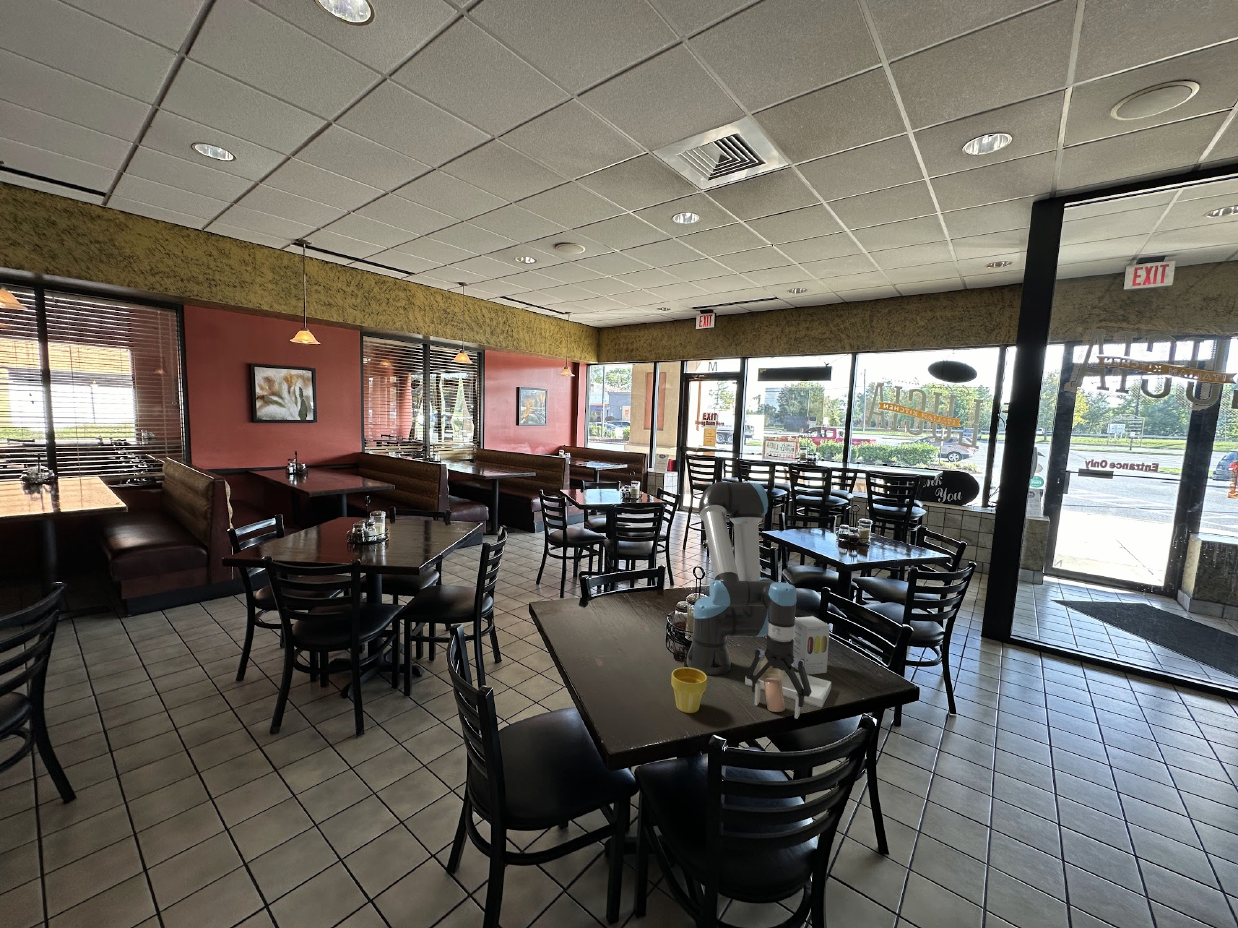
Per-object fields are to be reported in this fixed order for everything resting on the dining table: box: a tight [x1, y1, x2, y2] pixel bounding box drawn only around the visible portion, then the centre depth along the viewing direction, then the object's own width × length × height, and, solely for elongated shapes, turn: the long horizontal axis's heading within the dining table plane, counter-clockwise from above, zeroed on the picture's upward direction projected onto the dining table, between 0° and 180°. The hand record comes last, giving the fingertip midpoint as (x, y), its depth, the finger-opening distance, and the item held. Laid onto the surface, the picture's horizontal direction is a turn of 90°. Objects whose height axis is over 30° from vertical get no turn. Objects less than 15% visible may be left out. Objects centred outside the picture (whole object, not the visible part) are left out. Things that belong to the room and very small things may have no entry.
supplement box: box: [792, 615, 831, 675], centre depth 176 cm, size 10×9×17 cm
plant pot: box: [670, 666, 708, 714], centre depth 149 cm, size 10×10×10 cm
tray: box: [744, 661, 832, 709], centre depth 163 cm, size 24×14×3 cm, turn 57°
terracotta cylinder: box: [764, 678, 786, 713], centre depth 149 cm, size 5×5×8 cm
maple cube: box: [760, 656, 784, 681], centre depth 166 cm, size 6×6×6 cm
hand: (776, 709), depth 149 cm, fingers open, 11 cm apart
